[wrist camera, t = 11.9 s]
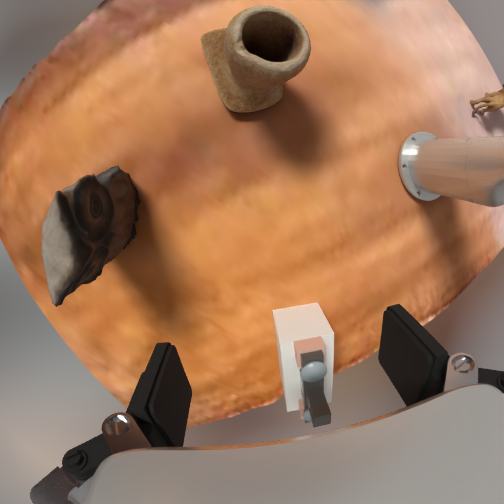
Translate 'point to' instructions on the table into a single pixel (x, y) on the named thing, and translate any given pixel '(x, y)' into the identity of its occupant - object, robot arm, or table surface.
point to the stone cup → (256, 57)
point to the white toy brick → (302, 348)
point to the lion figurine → (490, 101)
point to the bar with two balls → (314, 388)
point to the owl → (87, 229)
